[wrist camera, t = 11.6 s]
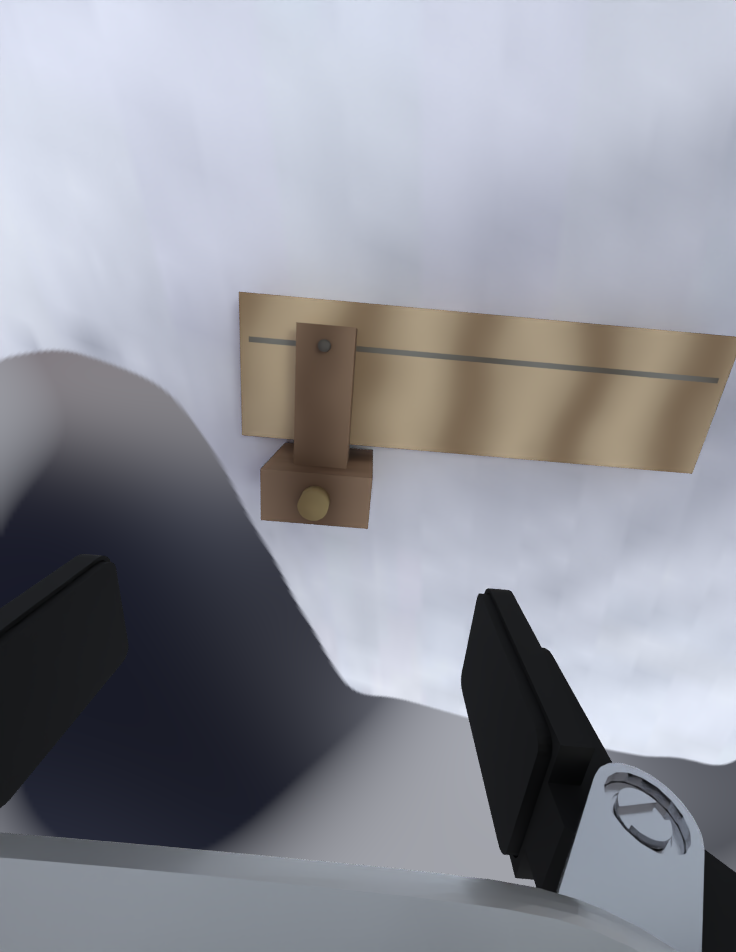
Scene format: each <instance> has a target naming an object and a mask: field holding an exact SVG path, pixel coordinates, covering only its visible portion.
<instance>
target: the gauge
mask: <svg viewBox="0 0 736 952" xmlns="http://www.w3.org/2000/svg"><path fill="white" fill-rule="evenodd" d="M357 331H358V329H357V328H356V327H345V326H333V325H322V324H311V323H299V322H296V366H295V414H294V443H285V444H284V445H283V446H282V447H281V448H280V449H279V450H278V451H277V452H276V453H275V454H274V455H273V456H272V457H271V458H270V459H269V461H268V462H267V463H266V464H265V465H264V466H263V467H262V468H261V469H260V475H261V520H267V521H279V522H291V523H304V524H316V525H328V526H340V527H352V528H364V529H368V521H369V510H370V499H371V489H372V473H373V450H367V449H356V448H349V446H350V432H351V417H352V403H353V389H354V374H355V360H356V346H357Z"/></svg>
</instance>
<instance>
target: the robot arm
mask: <svg viewBox="0 0 736 952" xmlns="http://www.w3.org/2000/svg"><path fill="white" fill-rule="evenodd" d="M116 572H117V571H116V567H115V565H114V563H112V562H110V559H109V558H108V557H106V556H100V555H89V554H80V555H78V556H76V557H75V558H73V559H72V560H70V561H69V562H67V563H66V564H64V565H63V566H62V567H60V568H59V569H57V570H56V571H54V572H53V573H52V574H50V575H48V576H47V577H46V578H44V579H43V580H41V581H40V582H39V583H37V584H35V585H34V586H33V587H31V588H30V589H28V590H27V591H25V592H24V593H22V594H21V595H19V596H18V597H17V598H15V599H14V600H12V601H11V602H9V603H8V604H6V605H5V606H3V607H2V608H0V808H1V807H2V806H3V805H5V804H6V803H7V802H8V801H9V800H10V799H11V797H12V796H13V795H14V794H15V793H16V791H17V790H18V789H19V788H20V786H21V785H22V784H23V783H24V781H25V780H26V779H27V778H28V777H29V775H30V774H31V773H32V772H33V771H34V769H35V768H36V767H37V766H38V765H39V763H40V762H41V761H42V759H43V758H44V757H45V756H46V755H47V753H48V752H49V751H50V750H51V749H52V747H53V746H54V745H55V744H56V743H57V741H58V740H59V739H60V738H61V736H62V735H63V734H64V733H65V732H66V730H67V729H68V728H69V727H70V726H71V724H72V723H73V722H74V721H75V719H76V718H77V717H78V716H79V715H80V713H81V712H82V711H83V709H84V708H85V707H86V706H87V705H88V703H89V702H90V701H91V700H92V699H93V697H94V696H95V695H96V694H97V692H98V691H99V690H100V689H101V688H102V686H103V685H104V684H105V683H106V682H107V680H108V679H109V678H110V677H111V676H112V674H113V673H114V672H115V671H116V669H117V668H118V667H119V666H120V665H121V663H122V662H123V661H124V659H125V657H126V655H127V652H128V639H127V633H126V627H125V621H124V615H123V609H122V602H121V596H120V590H119V584H118V578H117V573H116ZM461 687H462V692H463V697H464V701H465V705H466V709H467V714H468V718H469V722H470V726H471V730H472V735H473V739H474V743H475V747H476V752H477V756H478V760H479V764H480V768H481V773H482V777H483V781H484V785H485V789H486V794H487V798H488V802H489V806H490V811H491V815H492V819H493V823H494V827H495V832H496V836H497V840H498V844H499V848H500V850H501V852H502V853H503V854H504V855H510V859H511V862H512V867H513V871H514V875H515V878H522V879H533V880H534V881H535V884H536V888H534V887H529V886H524V885H518V884H513V883H507V882H502V881H496V880H490V879H482V878H474V877H465V876H457V875H449V874H440V873H431V872H423V871H415V870H406V869H398V868H387V867H377V866H366V865H356V864H346V863H335V862H325V861H314V860H304V859H293V858H283V857H272V856H262V855H252V854H239V853H229V852H218V851H206V850H196V849H185V848H173V847H163V846H151V845H140V844H129V843H117V842H105V841H93V840H83V839H82V840H81V839H72V838H59V837H46V836H35V835H23V834H11V833H0V952H736V872H734V871H733V870H732V869H730V868H729V867H727V866H726V865H725V864H723V863H722V862H721V861H719V860H718V859H717V858H715V857H714V856H713V855H711V854H710V853H709V852H707V851H706V850H704V845H703V839H702V835H701V833H700V830H699V828H698V826H697V824H696V822H695V820H694V818H693V817H692V815H691V814H690V813H689V811H688V810H687V808H686V807H685V806H684V804H683V803H682V802H681V801H680V800H679V799H678V798H677V797H676V796H675V795H674V794H673V793H672V792H671V791H670V790H669V789H668V788H667V787H666V786H665V785H663V784H662V783H661V782H659V781H658V780H657V779H655V778H654V777H653V776H651V775H649V774H647V773H646V772H644V771H642V770H640V769H638V768H636V767H633V766H629V765H626V764H622V763H612V761H611V760H610V758H609V756H608V754H607V752H606V751H605V749H604V747H603V745H602V743H601V742H600V740H599V738H598V736H597V734H596V733H595V731H594V729H593V727H592V725H591V724H590V722H589V720H588V718H587V716H586V715H585V713H584V711H583V709H582V707H581V706H580V704H579V702H578V700H577V698H576V697H575V695H574V693H573V691H572V689H571V688H570V686H569V684H568V682H567V681H566V679H565V677H564V675H563V673H562V672H561V670H560V668H559V666H558V664H557V663H556V661H555V659H554V657H553V656H552V654H551V653H550V651H549V650H547V649H546V648H542V647H541V646H540V644H539V642H538V640H537V638H536V636H535V634H534V632H533V631H532V629H531V627H530V625H529V623H528V621H527V619H526V618H525V616H524V614H523V612H522V610H521V608H520V606H519V604H518V603H517V601H516V599H515V597H514V595H513V593H512V592H511V591H510V590H501V589H489V588H488V589H486V591H485V593H484V594H479V595H478V597H477V601H476V606H475V611H474V615H473V620H472V625H471V630H470V635H469V640H468V645H467V650H466V655H465V660H464V664H463V669H462V675H461Z"/></svg>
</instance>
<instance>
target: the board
mask: <svg viewBox="0 0 736 952" xmlns="http://www.w3.org/2000/svg"><path fill="white" fill-rule="evenodd" d="M239 319H240V363H241V408H242V435H246V436H258V437H269V438H281V439H293V440H294V414H295V366H296V322H299V323H311V324H322V325H333V326H345V327H356V328H357V329H358V331H357V346H356V360H355V374H354V389H353V403H352V417H351V432H350V444H351V445H363V446H374V447H386V448H398V449H409V450H421V451H433V452H444V453H456V454H468V455H479V456H491V457H503V458H514V459H526V460H538V461H550V462H561V463H573V464H585V465H596V466H608V467H620V468H631V469H643V470H655V471H666V472H678V473H690V474H692V472H693V470H694V467H695V464H696V462H697V459H698V456H699V454H700V451H701V448H702V446H703V443H704V441H705V438H706V435H707V433H708V430H709V427H710V425H711V422H712V419H713V417H714V414H715V411H716V409H717V406H718V403H719V401H720V398H721V395H722V393H723V390H724V387H725V385H726V382H727V379H728V377H729V374H730V372H731V369H732V366H733V364H734V361H735V358H736V337H734V336H722V335H711V334H700V333H689V332H678V331H667V330H656V329H645V328H634V327H623V326H612V325H601V324H590V323H579V322H568V321H557V320H546V319H534V318H523V317H512V316H501V315H490V314H479V313H468V312H457V311H446V310H435V309H424V308H413V307H402V306H391V305H380V304H369V303H358V302H346V301H335V300H324V299H313V298H302V297H291V296H280V295H269V294H258V293H247V292H239Z"/></svg>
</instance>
